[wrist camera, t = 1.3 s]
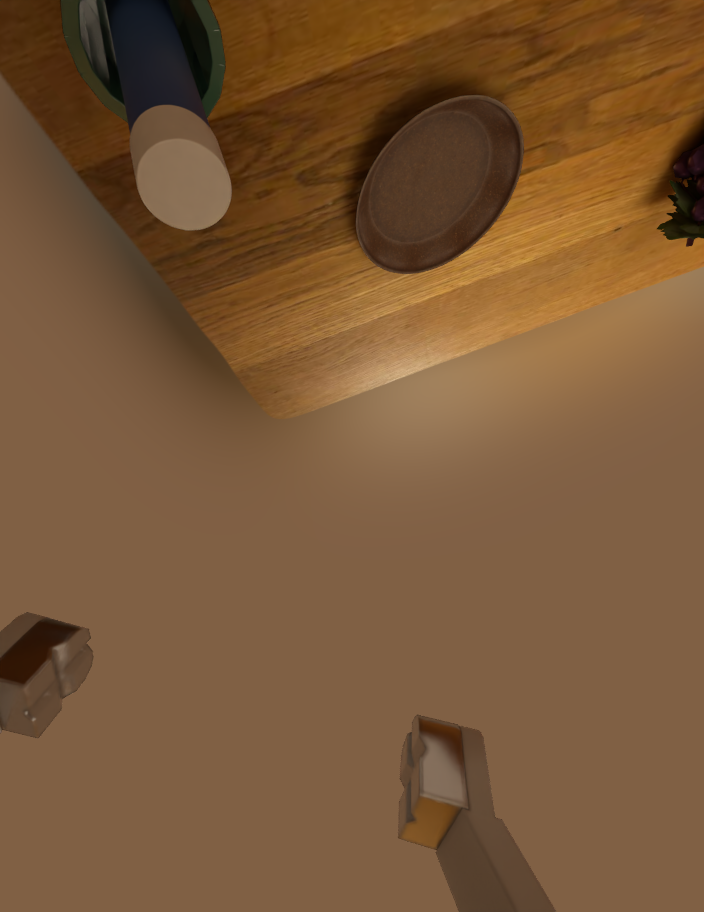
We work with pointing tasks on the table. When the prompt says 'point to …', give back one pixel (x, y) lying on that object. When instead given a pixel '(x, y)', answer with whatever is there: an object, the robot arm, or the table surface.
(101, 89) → the pen pot
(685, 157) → the fruit
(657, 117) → the table surface
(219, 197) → the marker
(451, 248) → the saucer
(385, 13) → the table surface
